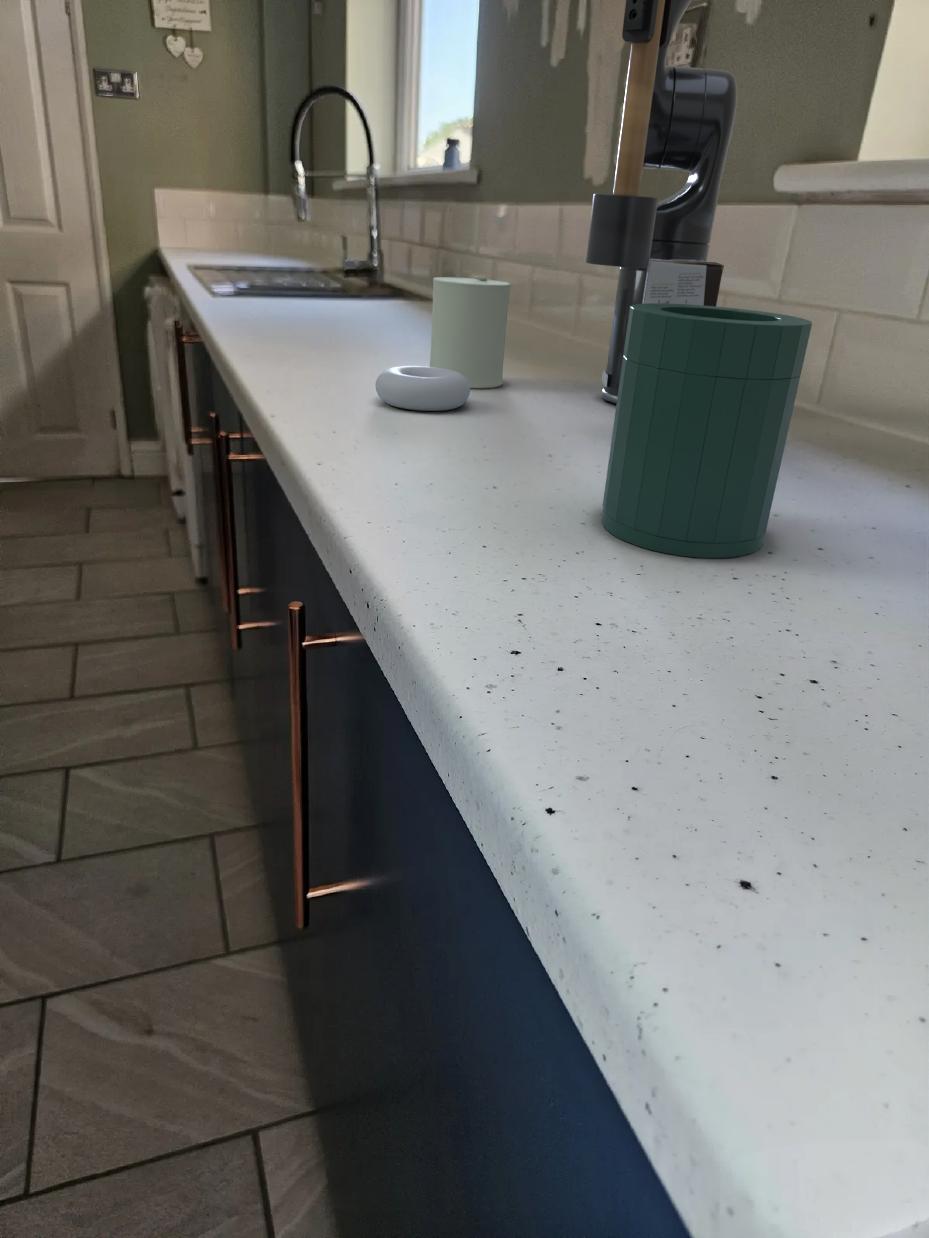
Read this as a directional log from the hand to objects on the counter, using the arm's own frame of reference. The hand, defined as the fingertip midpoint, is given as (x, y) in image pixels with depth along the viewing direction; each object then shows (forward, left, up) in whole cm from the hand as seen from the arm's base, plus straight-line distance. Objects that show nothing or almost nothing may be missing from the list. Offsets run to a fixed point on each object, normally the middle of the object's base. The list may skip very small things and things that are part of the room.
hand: (645, 44), depth 63 cm
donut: (-4, -23, -31) cm, 39 cm away
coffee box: (-11, +1, -31) cm, 33 cm away
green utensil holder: (+13, +15, -31) cm, 36 cm away
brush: (0, 0, -15) cm, 15 cm away
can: (-19, -29, -31) cm, 47 cm away
